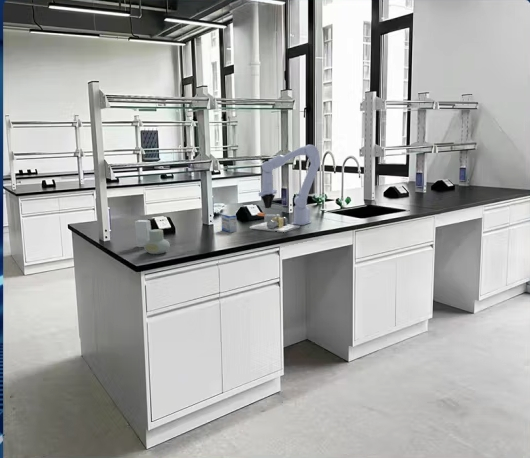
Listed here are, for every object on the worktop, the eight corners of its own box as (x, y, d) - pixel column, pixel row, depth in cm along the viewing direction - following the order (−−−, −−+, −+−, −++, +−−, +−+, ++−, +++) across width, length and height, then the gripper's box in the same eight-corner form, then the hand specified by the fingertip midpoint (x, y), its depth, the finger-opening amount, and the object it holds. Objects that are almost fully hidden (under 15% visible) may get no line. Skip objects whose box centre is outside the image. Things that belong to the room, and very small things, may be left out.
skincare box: (152, 245, 225) (151, 220, 222) (148, 247, 220) (146, 221, 218) (141, 245, 226) (139, 219, 224) (136, 247, 222) (134, 221, 220)
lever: (280, 217, 259) (280, 214, 259) (278, 217, 257) (278, 215, 257) (260, 214, 267) (260, 212, 267) (257, 215, 265) (257, 213, 265)
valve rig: (266, 223, 273) (266, 213, 272) (299, 227, 261) (299, 216, 259) (249, 228, 260) (249, 217, 259) (283, 232, 248) (283, 221, 247)
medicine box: (221, 230, 257) (220, 214, 255) (228, 229, 260) (227, 213, 258) (230, 232, 251) (229, 216, 249) (237, 231, 254) (236, 215, 252)
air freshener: (173, 251, 213) (172, 229, 211) (163, 255, 205) (162, 232, 203) (151, 249, 216) (150, 228, 214) (141, 254, 209) (139, 231, 207)
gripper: (269, 181, 274) (269, 205, 277) (253, 184, 263) (254, 209, 265) (279, 182, 270) (279, 206, 273) (264, 185, 259) (264, 210, 261)
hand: (268, 207), depth 269 cm, fingers closed
